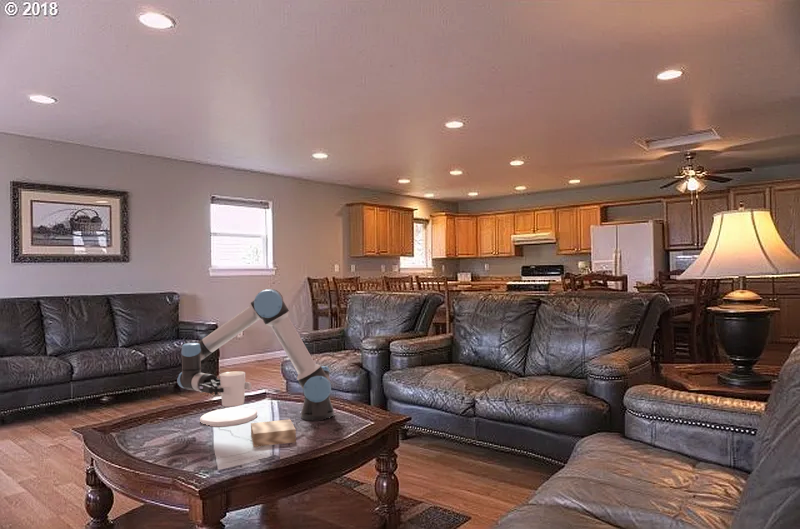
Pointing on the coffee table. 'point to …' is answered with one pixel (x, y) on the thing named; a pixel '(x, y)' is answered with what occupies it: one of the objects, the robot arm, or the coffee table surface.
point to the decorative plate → (228, 416)
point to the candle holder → (233, 388)
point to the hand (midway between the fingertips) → (240, 388)
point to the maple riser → (273, 433)
